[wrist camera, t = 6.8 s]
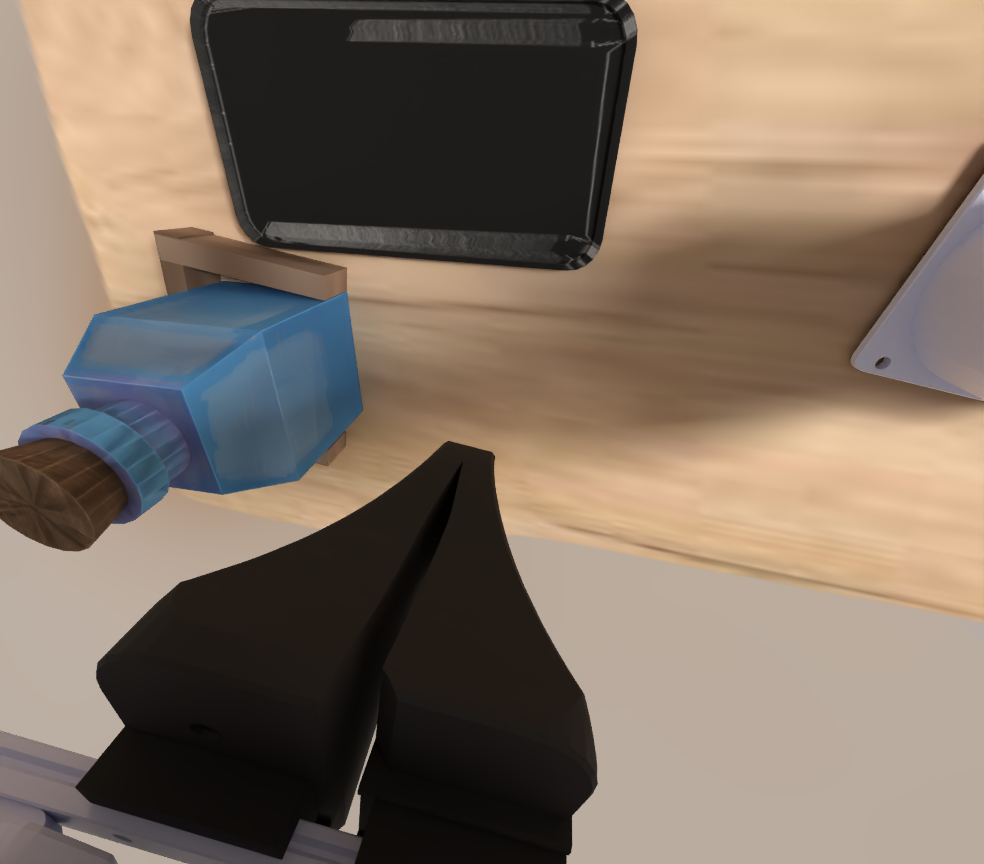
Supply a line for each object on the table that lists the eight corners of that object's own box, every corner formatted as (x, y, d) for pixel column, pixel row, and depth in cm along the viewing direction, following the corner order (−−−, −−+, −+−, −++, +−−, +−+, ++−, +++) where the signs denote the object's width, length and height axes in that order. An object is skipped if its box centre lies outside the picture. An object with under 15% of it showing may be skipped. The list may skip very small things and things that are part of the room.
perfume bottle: (362, 410, 22) (185, 603, 12) (256, 397, 22) (-1, 570, 12) (347, 291, 18) (82, 414, 8) (223, 281, 19) (-164, 382, 9)
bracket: (346, 265, 18) (324, 273, 16) (345, 447, 23) (328, 467, 21) (192, 227, 18) (153, 230, 16) (225, 416, 23) (199, 434, 22)
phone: (596, 273, 16) (243, 244, 17) (594, 268, 17) (259, 242, 18) (646, -14, 12) (178, -18, 13) (640, 2, 13) (204, -4, 14)
